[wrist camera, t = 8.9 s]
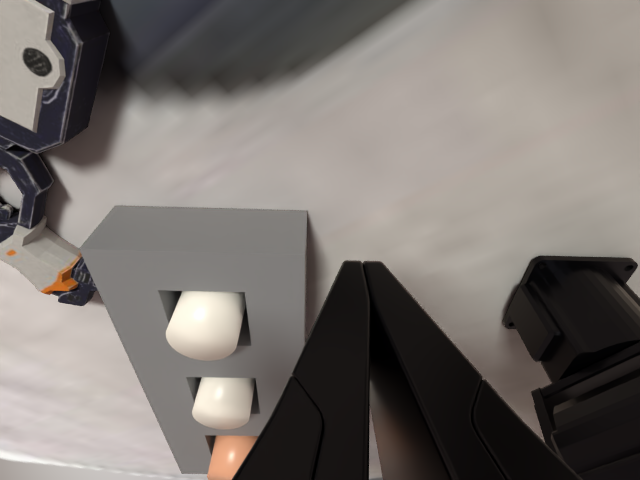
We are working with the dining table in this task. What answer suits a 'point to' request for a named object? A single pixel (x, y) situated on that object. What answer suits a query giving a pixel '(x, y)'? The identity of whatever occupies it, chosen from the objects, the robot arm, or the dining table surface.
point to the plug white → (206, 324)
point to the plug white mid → (224, 402)
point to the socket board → (203, 275)
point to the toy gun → (45, 128)
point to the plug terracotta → (229, 455)
